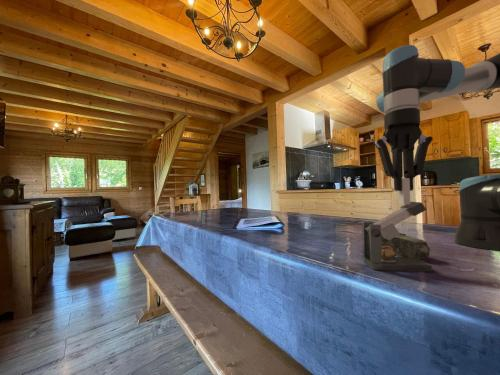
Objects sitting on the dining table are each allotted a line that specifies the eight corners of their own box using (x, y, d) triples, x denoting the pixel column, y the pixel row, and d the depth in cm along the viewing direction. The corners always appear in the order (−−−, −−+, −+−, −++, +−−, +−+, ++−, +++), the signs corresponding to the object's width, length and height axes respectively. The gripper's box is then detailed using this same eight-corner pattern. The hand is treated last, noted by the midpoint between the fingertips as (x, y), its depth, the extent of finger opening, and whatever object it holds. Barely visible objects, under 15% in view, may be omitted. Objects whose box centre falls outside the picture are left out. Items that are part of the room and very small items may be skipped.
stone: (426, 268, 64) (441, 242, 60) (412, 278, 61) (427, 250, 57) (382, 240, 75) (391, 216, 70) (368, 247, 72) (377, 222, 67)
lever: (420, 216, 57) (410, 201, 58) (432, 218, 53) (421, 202, 53) (372, 242, 59) (363, 227, 59) (380, 246, 54) (369, 230, 55)
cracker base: (416, 262, 58) (414, 221, 58) (432, 272, 52) (430, 225, 52) (363, 261, 60) (361, 221, 60) (372, 270, 54) (371, 225, 54)
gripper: (420, 114, 59) (423, 202, 58) (368, 118, 61) (370, 203, 60) (440, 104, 51) (443, 204, 51) (380, 108, 53) (383, 205, 53)
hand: (404, 203), depth 56 cm, fingers closed
